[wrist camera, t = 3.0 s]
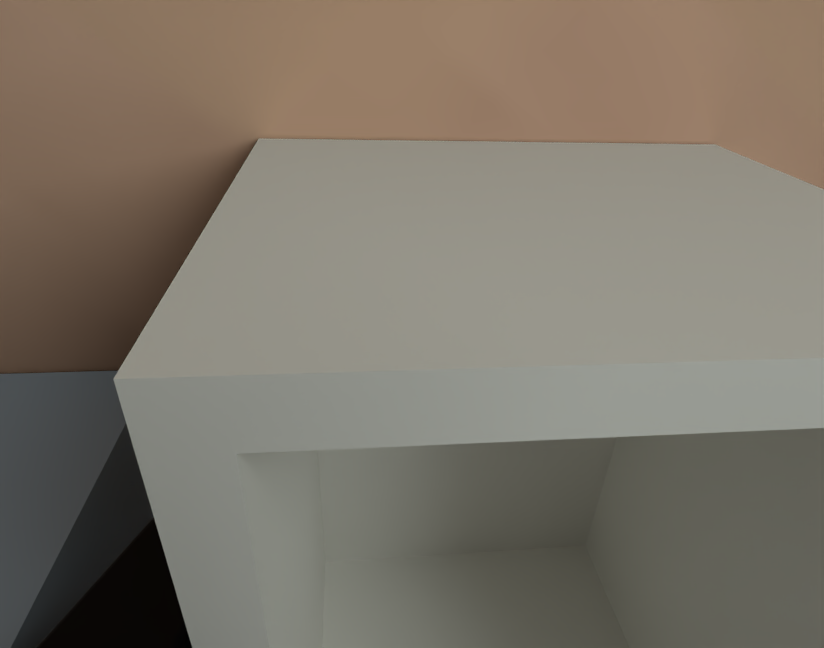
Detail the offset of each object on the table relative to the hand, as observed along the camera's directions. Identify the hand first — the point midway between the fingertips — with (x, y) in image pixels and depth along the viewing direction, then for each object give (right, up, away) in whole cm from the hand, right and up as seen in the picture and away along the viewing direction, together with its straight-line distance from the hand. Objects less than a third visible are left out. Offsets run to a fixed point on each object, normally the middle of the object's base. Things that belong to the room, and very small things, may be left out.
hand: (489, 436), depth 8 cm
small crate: (0, 0, +1) cm, 1 cm away
